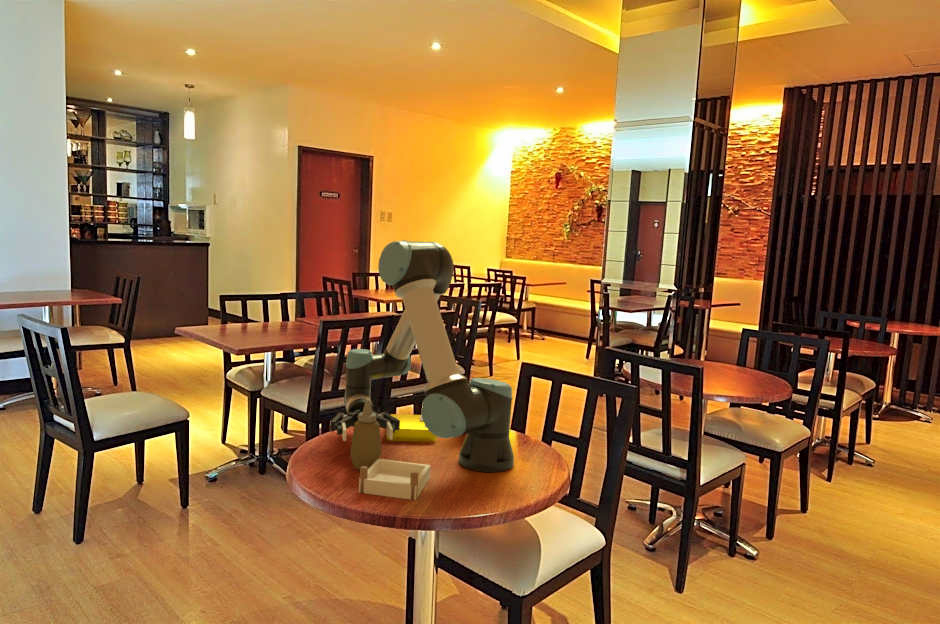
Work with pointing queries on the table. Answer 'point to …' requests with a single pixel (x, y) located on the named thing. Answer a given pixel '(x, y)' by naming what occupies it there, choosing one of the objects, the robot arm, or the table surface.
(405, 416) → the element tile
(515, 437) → the table surface
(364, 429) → the squeeze bottle
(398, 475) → the tray
